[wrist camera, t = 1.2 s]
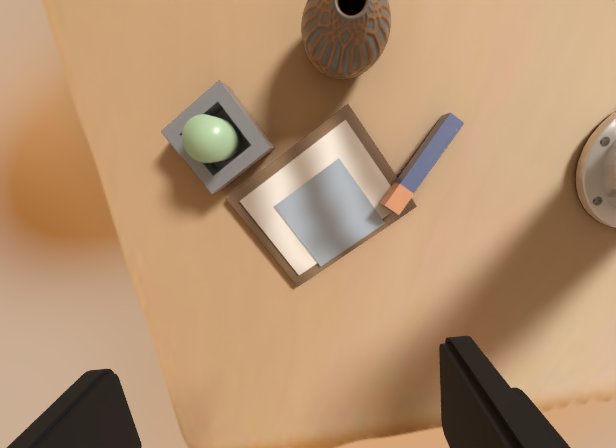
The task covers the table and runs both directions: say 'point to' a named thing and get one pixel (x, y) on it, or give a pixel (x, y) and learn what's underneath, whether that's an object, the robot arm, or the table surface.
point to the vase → (345, 35)
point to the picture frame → (319, 197)
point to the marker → (421, 163)
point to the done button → (210, 139)
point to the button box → (230, 108)
